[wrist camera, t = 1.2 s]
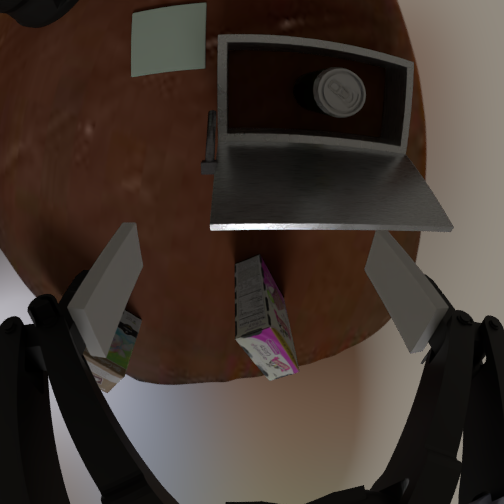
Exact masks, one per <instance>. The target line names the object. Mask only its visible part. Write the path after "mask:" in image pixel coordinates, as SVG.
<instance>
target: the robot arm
mask: <svg viewBox="0 0 504 504" xmlns="http://www.w3.org/2000/svg"><path fill="white" fill-rule="evenodd" d="M77 2H78V0H0V13H7V14H8V15H10V16H11V17H12V18H14V19H15V20H16V21H17V22H18V23H19V24H20V25H22V26H25V27H32V28H39V27H44V26H46V25H49V24H51V23H53V22H55V21H56V20H58V19H59V18H61V17H62V16H63V15H64V14H66V13H67V12H68V11H69V10H70V9H71V8H72V7H73V6H74V5H75V4H76V3H77ZM142 267H143V263H142V258H141V252H140V246H139V240H138V233H137V227H136V223H122V225H121V226H120V227H119V229H118V230H117V232H116V233H115V234H114V236H113V237H112V239H111V240H110V241H109V243H108V244H107V246H106V247H105V248H104V250H103V251H102V253H101V254H100V256H99V257H98V259H97V260H96V262H95V263H94V265H93V266H92V268H91V269H90V270H83V271H82V272H81V273H79V274H78V275H77V276H76V277H75V278H74V280H73V282H72V283H71V285H70V286H69V288H68V289H67V291H66V292H65V294H64V295H63V297H62V299H61V300H60V302H59V304H58V303H57V300H56V298H55V297H54V296H53V295H51V294H44V295H40V296H38V297H36V298H35V299H34V300H33V301H32V302H31V303H30V304H29V306H28V313H29V315H30V317H31V319H32V321H33V323H34V324H29V325H24V324H23V322H22V320H21V319H20V318H19V317H16V316H13V317H10V318H7V319H6V320H5V321H4V322H3V323H2V324H1V325H0V504H70V501H69V498H68V495H67V492H66V488H65V484H64V481H63V477H62V473H61V469H60V464H59V460H58V455H57V450H56V444H55V439H54V433H53V426H52V418H51V410H50V399H49V385H48V377H49V380H50V383H51V386H52V389H53V392H54V395H55V398H56V401H57V403H58V406H59V409H60V411H61V414H62V416H63V419H64V421H65V424H66V426H67V428H68V431H69V433H70V435H71V438H72V440H73V442H74V444H75V446H76V448H77V450H78V452H79V454H80V456H81V458H82V460H83V462H84V464H85V466H86V468H87V470H88V471H89V473H90V475H91V477H92V478H93V480H94V482H95V484H96V485H97V487H98V489H99V490H100V492H101V495H102V497H101V502H102V504H179V503H178V502H177V501H176V500H175V499H174V498H173V497H172V496H171V495H170V494H169V493H168V492H167V491H166V489H165V488H164V487H163V486H162V485H161V483H160V482H159V481H158V480H157V478H156V477H155V476H154V474H153V473H152V472H151V470H150V469H149V468H148V466H147V465H146V464H145V462H144V461H143V460H142V458H141V457H140V455H139V454H138V452H137V451H136V449H135V448H134V446H133V445H132V443H131V442H130V440H129V439H128V437H127V436H126V434H125V432H124V431H123V429H122V427H121V426H120V424H119V422H118V421H117V419H116V417H115V416H114V414H113V412H112V410H111V409H110V407H109V405H108V403H107V401H106V399H105V398H104V396H103V394H102V392H101V390H100V388H99V386H98V384H97V382H96V380H95V378H94V376H93V374H92V372H91V369H90V367H89V365H88V363H87V361H86V358H85V357H84V355H83V353H84V350H85V348H87V349H88V351H89V353H90V355H91V356H97V357H103V358H106V357H107V354H108V351H109V349H110V346H111V343H112V340H113V338H114V335H115V332H116V330H117V327H118V324H119V322H120V319H121V317H122V314H123V312H124V309H125V307H126V304H127V302H128V299H129V297H130V295H131V292H132V290H133V288H134V285H135V283H136V281H137V278H138V276H139V274H140V272H141V269H142ZM364 270H365V272H366V274H367V275H368V277H369V279H370V280H371V282H372V284H373V285H374V287H375V289H376V291H377V292H378V294H379V296H380V298H381V299H382V301H383V303H384V305H385V307H386V308H387V310H388V312H389V314H390V316H391V317H392V319H393V321H394V323H395V325H396V327H397V329H398V331H399V332H400V334H401V336H402V338H403V340H404V342H405V344H406V346H407V348H408V350H409V352H410V353H416V352H421V351H423V349H424V348H425V346H426V345H427V343H428V342H429V344H430V346H431V349H430V350H429V352H428V353H427V355H426V356H425V357H424V359H423V360H422V362H421V364H423V363H424V362H425V361H426V363H425V366H424V370H423V373H422V377H421V380H420V384H419V387H418V390H417V393H416V396H415V399H414V402H413V405H412V408H411V411H410V414H409V416H408V419H407V422H406V425H405V427H404V429H403V432H402V434H401V437H400V439H399V442H398V444H397V446H396V448H395V451H394V453H393V455H392V457H391V460H390V462H389V463H388V465H387V468H386V470H385V471H384V473H383V474H382V475H381V476H380V477H379V479H378V480H377V481H376V482H375V483H374V485H373V486H372V488H371V489H370V490H365V489H364V485H363V486H359V487H355V488H351V489H346V490H342V491H338V492H333V493H331V494H328V495H326V496H324V497H321V498H319V499H316V500H314V501H311V502H309V503H306V504H450V503H451V500H452V498H453V495H454V492H455V489H456V486H457V483H458V480H459V477H460V474H461V478H460V487H459V503H458V504H504V329H503V326H502V324H501V323H500V322H499V320H498V319H496V318H495V317H493V316H489V315H488V316H486V317H485V318H484V320H483V321H482V323H477V322H474V321H473V319H472V318H471V317H470V316H469V314H467V313H466V312H463V311H461V310H455V309H454V308H453V306H452V305H451V303H450V302H449V301H448V299H447V298H446V297H445V295H444V294H442V291H441V290H440V289H439V288H438V286H437V285H436V284H435V283H434V281H433V280H432V279H431V278H429V277H428V276H427V275H424V274H423V272H422V271H421V270H420V269H419V267H418V266H417V265H416V264H415V262H414V261H413V260H412V259H411V258H410V256H409V255H408V254H407V253H406V252H405V250H404V249H403V248H402V247H401V246H400V245H399V243H398V242H397V241H396V240H395V239H394V238H393V237H392V235H391V234H390V233H389V232H388V231H387V230H376V232H375V235H374V239H373V243H372V246H371V249H370V253H369V256H368V259H367V263H366V266H365V269H364ZM485 356H486V362H485V363H484V364H483V362H482V359H483V358H484V357H485ZM462 432H463V455H462V463H461V462H460V461H458V460H457V458H456V457H457V452H458V448H459V444H460V440H461V436H462ZM226 504H276V503H268V502H262V501H260V502H226Z"/></svg>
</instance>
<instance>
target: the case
mask: <svg viewBox="0 0 504 504" xmlns="http://www.w3.org/2000/svg"><path fill="white" fill-rule="evenodd" d="M229 50H261V51H281V52H294V53H304V54H313V55H320V56H327V57H334V58H340V59H345V60H351V61H356V62H361V63H365V64H370V65H374V66H378V67H382V68H386V73H385V92H384V106H383V118H382V128H381V137H380V138H378V137H371V136H364V135H356V134H348V133H339V132H329V131H318V130H304V129H285V128H229V120H228V82H229ZM413 70H414V62H411V61H408V60H405V59H402V58H398V57H395V56H392V55H388V54H385V53H381V52H377V51H373V50H369V49H365V48H361V47H356V46H351V45H346V44H341V43H336V42H330V41H323V40H317V39H309V38H300V37H290V36H278V35H256V34H227V35H218V147H217V156H216V160H214V153H215V130H216V111H214V110H211V111H209V112H208V124H207V140H206V158H205V160H202V162H201V174H215V175H214V185H213V195H212V206H211V218H210V229H211V230H286V229H321V230H401V231H438V232H439V231H440V232H451V231H452V229H453V228H454V227H453V225H452V223H451V222H450V220H449V218H448V217H447V215H446V213H445V211H444V210H443V208H442V206H441V205H440V203H439V202H438V200H437V198H436V197H435V195H434V194H433V192H432V191H431V189H430V188H429V186H428V185H427V183H426V182H425V180H424V179H423V177H422V176H421V174H420V173H419V172H418V170H417V169H416V167H415V166H414V165H413V163H412V162H411V161H410V159H409V158H408V157H407V155H406V148H407V141H408V133H409V124H410V115H411V104H412V91H413Z"/></svg>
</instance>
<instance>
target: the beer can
mask: <svg viewBox="0 0 504 504" xmlns="http://www.w3.org/2000/svg"><path fill="white" fill-rule="evenodd" d="M293 93H294V97H295V99H296V101H297V103H298V104H299V105H300V106H301V107H303V108H305V109H307V110H311V111H314V112H318V113H322V114H325V115H329V116H333V117H338V118H343V117H348V116H351V115H353V114H355V113H357V112H358V111H359V110H360V109H361V108H362V107H363V105H364V103H365V98H366V91H365V86H364V84H363V82H362V80H361V79H360V78H359V77H358V76H357V75H356V74H355V73H353V72H351V71H350V70H347V69H345V68H341V67H330V68H326V69H322V70H318V71H314V72H310V73H307V74H304V75H302V76H300V77H299V78H298V79H297V80H296V82H295V84H294V88H293Z"/></svg>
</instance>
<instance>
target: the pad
mask: <svg viewBox="0 0 504 504" xmlns="http://www.w3.org/2000/svg"><path fill="white" fill-rule="evenodd" d="M206 7H207V4H206V3H195V4H185V5H177V6H170V7H163V8H157V9H152V10H147V11H142V12H137V13H133V16H132V39H131V77H136V76H142V75H148V74H155V73H162V72H170V71H179V70H190V69H203V68H205V50H206Z"/></svg>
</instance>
